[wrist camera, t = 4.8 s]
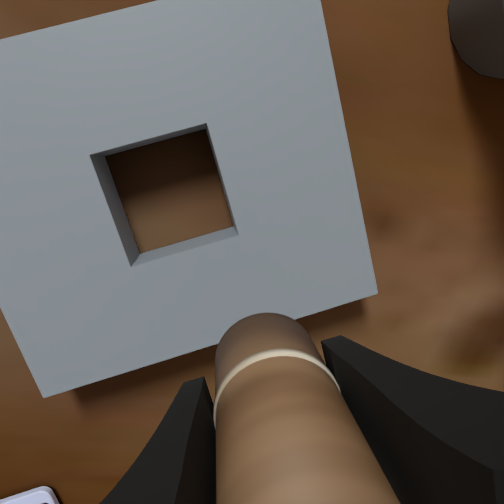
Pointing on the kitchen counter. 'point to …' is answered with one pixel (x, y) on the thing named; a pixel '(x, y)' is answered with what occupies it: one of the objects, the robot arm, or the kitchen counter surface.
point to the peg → (286, 423)
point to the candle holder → (479, 34)
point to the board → (158, 129)
